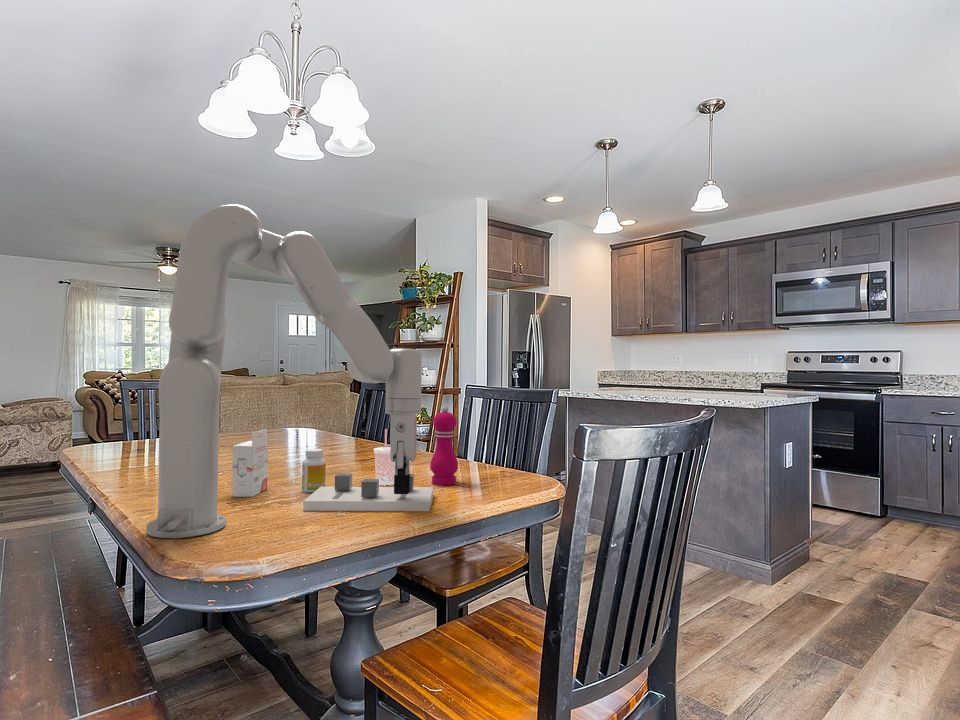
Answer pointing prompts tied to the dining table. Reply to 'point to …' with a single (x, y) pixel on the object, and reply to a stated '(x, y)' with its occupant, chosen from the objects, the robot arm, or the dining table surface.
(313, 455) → the supplement bottle
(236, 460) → the ink cartridge box
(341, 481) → the dark grey cube
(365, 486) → the dark grey cube
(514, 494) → the dining table surface
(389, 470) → the beverage cup
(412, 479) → the dark gray cube
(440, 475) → the pepper mill
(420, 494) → the switch panel
